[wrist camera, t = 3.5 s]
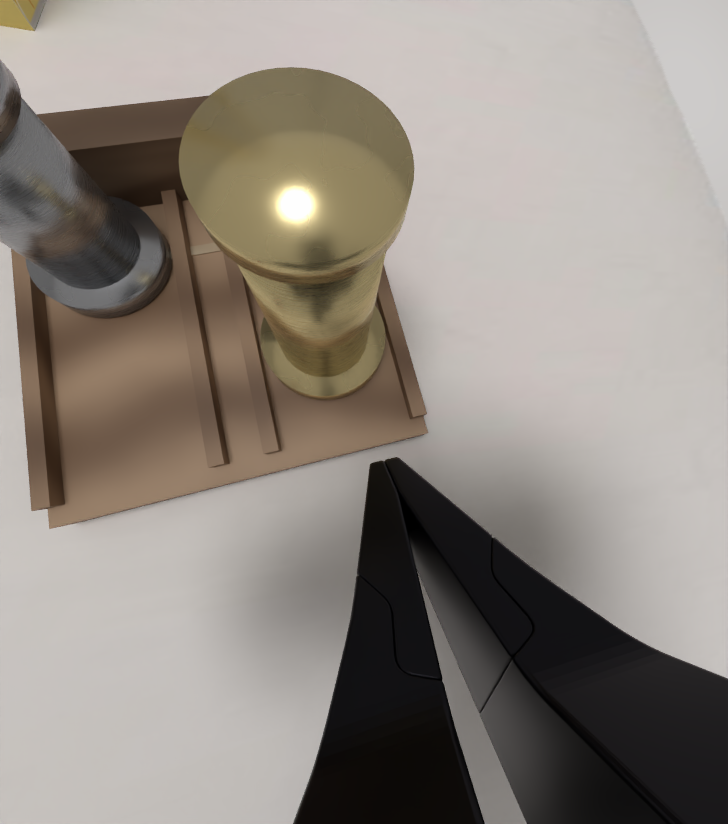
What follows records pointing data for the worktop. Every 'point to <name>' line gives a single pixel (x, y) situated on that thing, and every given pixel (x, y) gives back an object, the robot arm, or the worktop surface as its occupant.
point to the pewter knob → (72, 221)
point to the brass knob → (303, 214)
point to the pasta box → (21, 13)
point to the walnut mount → (175, 355)
